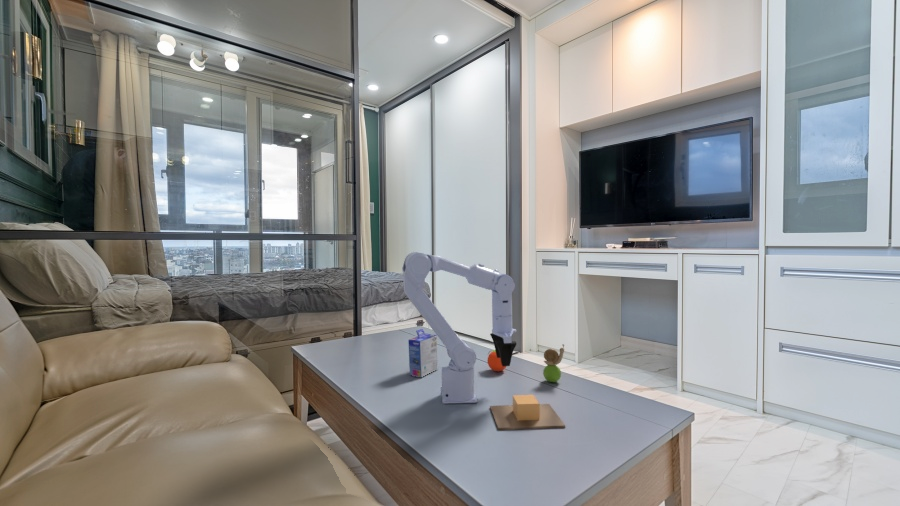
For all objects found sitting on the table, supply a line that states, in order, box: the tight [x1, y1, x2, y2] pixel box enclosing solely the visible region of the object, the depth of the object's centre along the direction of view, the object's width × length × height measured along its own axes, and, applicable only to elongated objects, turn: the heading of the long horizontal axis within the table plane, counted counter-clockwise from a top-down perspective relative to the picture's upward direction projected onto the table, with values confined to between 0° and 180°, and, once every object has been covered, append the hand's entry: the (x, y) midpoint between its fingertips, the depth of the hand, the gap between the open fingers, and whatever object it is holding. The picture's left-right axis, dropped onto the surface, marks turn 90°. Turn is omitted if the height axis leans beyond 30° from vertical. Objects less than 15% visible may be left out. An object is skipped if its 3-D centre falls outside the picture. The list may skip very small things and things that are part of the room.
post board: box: [489, 403, 566, 431], centre depth 95 cm, size 16×12×3 cm
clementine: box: [487, 349, 507, 372], centre depth 130 cm, size 8×7×7 cm
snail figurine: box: [542, 343, 565, 383], centre depth 118 cm, size 5×6×12 cm
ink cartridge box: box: [408, 328, 439, 378], centre depth 128 cm, size 10×6×14 cm, turn 148°
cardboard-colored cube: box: [512, 394, 541, 421], centre depth 95 cm, size 5×5×4 cm
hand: (503, 361), depth 109 cm, fingers open, 7 cm apart
